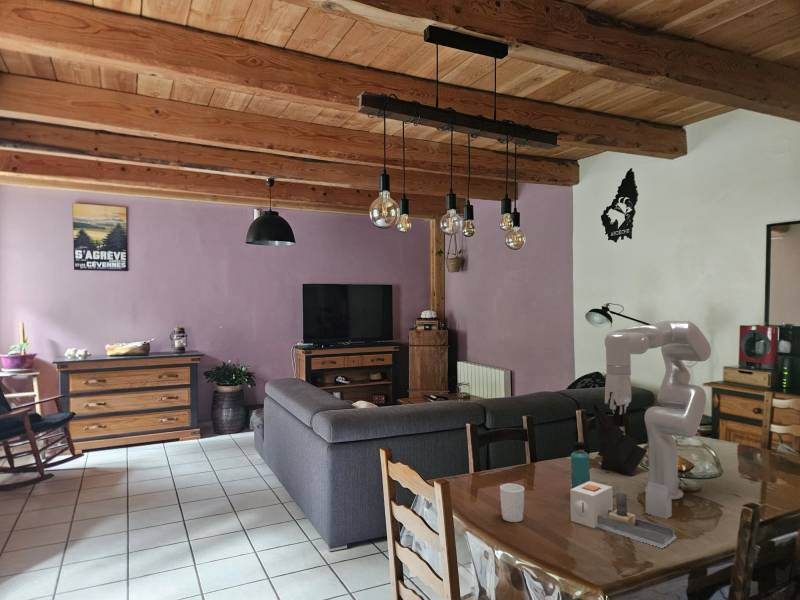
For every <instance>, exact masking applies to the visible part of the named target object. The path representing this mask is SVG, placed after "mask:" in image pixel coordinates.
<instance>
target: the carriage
mask: <svg viewBox="0 0 800 600" xmlns="http://www.w3.org/2000/svg"><path fill="white" fill-rule="evenodd" d="M627 495H628V494H626V493H622V492H617V493H616V494H615V500H616V501H615V503H616V505H615V508H616V509H613V511H612V512H611V513H609V519H613V520H616V521H619V522H622V523H625V524H629V525H632V526H634V525H635V517H636V515H635V514H633V513H631V512H628V500H627V499H628V497H627Z"/></svg>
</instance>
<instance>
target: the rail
mask: <svg viewBox="0 0 800 600" xmlns="http://www.w3.org/2000/svg"><path fill="white" fill-rule="evenodd" d="M611 512H612V510H608V517H607V518H606V517H603V516H600V515H599V516H597V518H598V523H596V525H597V527H596V528H598V529H602V530H603V531H604V530H605V531H607V532H611V533H614V534H616V535H619V536H622V537H626V538H628V537H629V538H628V539H632V540H634V541H637V542H640V543H643V542H644V543H643V544H646V543H647V545H649V544H650V546H652V545H654V546H653V547H655V546H657V547H656V548H658V547H660V548H659V549H661V548H663V549H665V548H667V545H668V544H669V545H670V544H672V543H673V542H674V541H676V540H677V535H675V533H676V532H675V528H673V527H669V526H665V525H662V524H658V523H656V522H652V521H649V520H645V519H643V518H640V517H636V516H635V525H634V526H632V525H629V524H625V523H622V522H619V521H616V520H613V519H609V513H611ZM675 539H676V540H675ZM671 542H672V543H671ZM669 545H668V546H669ZM664 547H665V548H664Z"/></svg>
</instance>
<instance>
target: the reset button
mask: <svg viewBox="0 0 800 600" xmlns="http://www.w3.org/2000/svg"><path fill="white" fill-rule="evenodd" d="M582 489H586V490H589V491H593V492H595V491H598V490H600V487H597V486H594V485H590V484H588V485H586V486H584V487H582Z"/></svg>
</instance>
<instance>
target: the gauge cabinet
mask: <svg viewBox="0 0 800 600" xmlns="http://www.w3.org/2000/svg"><path fill="white" fill-rule="evenodd" d="M588 484H590V485H594V486H597V487H600V490H598V491H595V492H593V491H589V490H586V489H582V487H584V486H586V485H588ZM569 492H570V493H569V495H570V497H569V499H570V521H571V522H574V523H577V524H580V525H583V526H585V527H588V528H592V529H596V528H598V527H597V525H596V523H598V518H597V516H599V515H600V516H603V517H606V518H607V517H608V510H612V511H614V508H613V507H614V505H613V503H614V502H613V501H614V500H613V498H614V496H613V486H610V485H606V484H603V483H598V482H595V481H591V480H590V481H588V482H586V483H584V484H582V485H579V486H577V487H575V488H573V489H572V488H571V489H570V491H569Z"/></svg>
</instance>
